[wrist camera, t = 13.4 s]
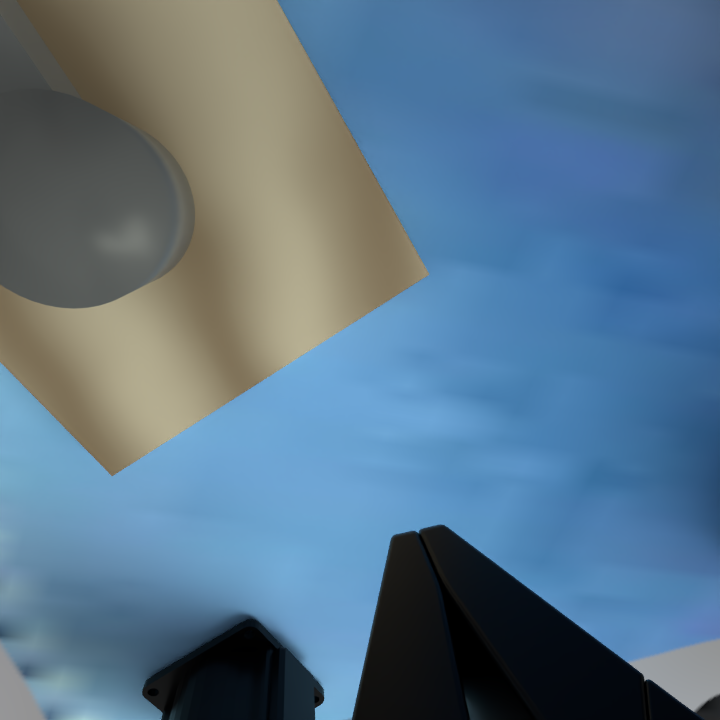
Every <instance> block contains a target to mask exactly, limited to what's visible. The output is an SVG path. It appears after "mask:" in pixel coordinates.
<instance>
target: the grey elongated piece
mask: <svg viewBox="0 0 720 720" xmlns="http://www.w3.org/2000/svg"><path fill="white" fill-rule="evenodd" d="M194 224H195V206H194V199H193V195H192V191H191V188H190V185H189V183H188V180H187V178H186V176H185V174H184V172H183V170H182V168H181V166H180V165H179V164H178V162H177V161H176V159H175V158H174V157H173V155H172V154H171V153H170V152H169V151H168V150H167V149H166V148H165V147H164V146H163V145H162V144H161V143H160V142H159V141H158V140H157V139H155V138H154V137H152V136H151V135H150V134H148V133H147V132H145V131H143V130H141V129H139V128H138V127H136V126H134V125H132V124H130V123H128V122H126V121H124V120H122V119H120V118H118V117H116V116H114V115H112V114H110V113H108V112H106V111H104V110H102V109H100V108H99V107H97V106H95V105H93V104H91V103H89V102H87V101H85V100H82V98H81V97H80V95H79V94H78V92H77V91H76V89H75V88H74V86H73V85H72V83H71V82H70V80H69V79H68V77H67V76H66V74H65V73H64V71H63V70H62V68H61V67H60V65H59V64H58V62H57V61H56V59H55V58H54V56H53V55H52V53H51V52H50V50H49V49H48V47H47V46H46V44H45V43H44V41H43V40H42V38H41V37H40V35H39V34H38V32H37V31H36V29H35V28H34V26H33V25H32V23H31V22H30V20H29V19H28V17H27V16H26V14H25V13H24V11H23V10H22V8H21V7H20V5H19V4H18V2H17V1H16V0H0V285H2V286H3V287H5V288H6V289H8V290H10V291H12V292H13V293H15V294H17V295H19V296H21V297H24V298H26V299H29V300H31V301H34V302H37V303H40V304H44V305H48V306H53V307H59V308H72V309H76V308H89V307H95V306H100V305H103V304H106V303H109V302H112V301H114V300H117V299H119V298H121V297H123V296H125V295H127V294H129V293H131V292H133V291H135V290H137V289H139V288H141V287H143V286H145V285H147V284H149V283H151V282H153V281H155V280H157V279H159V278H161V277H162V276H164V275H165V274H167V273H168V272H169V271H170V270H172V269H173V268H174V267H175V266H176V265H177V264H178V262H179V261H180V260H181V259H182V257H183V256H184V254H185V252H186V251H187V249H188V246H189V244H190V242H191V239H192V235H193V231H194Z"/></svg>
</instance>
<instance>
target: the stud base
mask: <svg viewBox="0 0 720 720" xmlns="http://www.w3.org/2000/svg"><path fill="white" fill-rule="evenodd" d="M16 1H17V2H18V4H19V5H20V7H21V8H22V10H23V11H24V13H25V14H26V16H27V17H28V19H29V20H30V22H31V23H32V25H33V26H34V28H35V29H36V31H37V32H38V34H39V35H40V37H41V38H42V40H43V41H44V43H45V44H46V46H47V47H48V49H49V50H50V52H51V53H52V55H53V56H54V58H55V59H56V61H57V62H58V64H59V65H60V67H61V68H62V70H63V71H64V73H65V74H66V76H67V77H68V79H69V80H70V82H71V83H72V85H73V86H74V88H75V89H76V91H77V92H78V94H79V95H80V97H81V98H82V100H85V101H87V102H89V103H91V104H93V105H95V106H97V107H99V108H100V109H102V110H104V111H106V112H108V113H110V114H112V115H114V116H116V117H118V118H120V119H122V120H124V121H126V122H128V123H130V124H132V125H134V126H136V127H138V128H139V129H141V130H143V131H145V132H147V133H148V134H150V135H151V136H152V137H154V138H155V139H157V140H158V141H159V142H160V143H161V144H162V145H163V146H164V147H165V148H166V149H167V150H168V151H169V152H170V153H171V154H172V155H173V157H174V158H175V159H176V161H177V162H178V164H179V165H180V166H181V168H182V170H183V172H184V174H185V176H186V178H187V180H188V183H189V185H190V188H191V191H192V195H193V199H194V206H195V224H194V231H193V235H192V239H191V242H190V244H189V246H188V249H187V251H186V252H185V254H184V256H183V257H182V259H181V260H180V261H179V262H178V264H177V265H176V266H175V267H174V268H173V269H172V270H170V271H169V272H168V273H167V274H165V275H164V276H162V277H161V278H159V279H157V280H155V281H153V282H151V283H149V284H147V285H145V286H143V287H141V288H139V289H137V290H135V291H133V292H131V293H129V294H127V295H125V296H123V297H121V298H119V299H117V300H114V301H112V302H109V303H106V304H103V305H100V306H95V307H89V308H76V309H72V308H59V307H53V306H48V305H44V304H40V303H37V302H34V301H31V300H29V299H26V298H24V297H21V296H19V295H17V294H15V293H13V292H12V291H10V290H8V289H6V288H5V287H3V286H2V285H0V362H1V363H2V364H3V365H4V366H5V367H6V368H7V369H8V370H9V371H10V372H11V373H12V374H13V375H14V376H15V377H16V378H17V379H18V380H19V381H20V383H21V384H22V385H23V386H24V387H25V388H26V389H27V390H28V391H29V392H30V393H31V394H32V395H33V396H34V397H35V398H36V399H37V400H38V401H39V402H40V403H41V404H42V405H43V406H44V407H45V408H46V409H47V410H48V411H49V412H50V413H51V414H52V415H53V416H54V417H55V418H56V419H57V420H58V421H59V422H60V423H61V424H62V425H63V426H64V428H65V429H66V430H67V431H68V432H69V433H70V434H71V435H72V436H73V437H74V438H75V439H76V440H77V441H78V442H79V443H80V444H81V445H82V446H83V447H84V448H85V449H86V450H87V451H88V452H89V453H90V454H91V455H92V456H93V457H94V458H95V459H96V460H97V461H98V462H99V463H100V464H101V465H102V466H103V467H104V468H105V469H106V470H107V471H108V472H109V474H110V475H111V476H113V475H115V474H116V473H118V472H119V471H121V470H123V469H124V468H126V467H127V466H129V465H130V464H132V463H134V462H135V461H137V460H138V459H140V458H141V457H143V456H145V455H146V454H148V453H149V452H151V451H152V450H154V449H156V448H157V447H159V446H160V445H162V444H163V443H165V442H167V441H168V440H170V439H171V438H173V437H174V436H176V435H178V434H179V433H181V432H182V431H184V430H185V429H187V428H189V427H190V426H192V425H193V424H195V423H196V422H198V421H200V420H201V419H203V418H204V417H206V416H207V415H209V414H211V413H212V412H214V411H215V410H217V409H218V408H220V407H222V406H223V405H225V404H226V403H228V402H229V401H231V400H233V399H234V398H236V397H237V396H239V395H240V394H242V393H244V392H245V391H247V390H248V389H250V388H251V387H253V386H255V385H256V384H258V383H259V382H261V381H262V380H264V379H266V378H267V377H269V376H270V375H272V374H273V373H275V372H277V371H278V370H280V369H281V368H283V367H284V366H286V365H288V364H289V363H291V362H292V361H294V360H295V359H297V358H299V357H300V356H302V355H303V354H305V353H306V352H308V351H310V350H311V349H313V348H314V347H316V346H318V345H319V344H321V343H322V342H324V341H325V340H327V339H329V338H330V337H332V336H333V335H335V334H336V333H338V332H340V331H341V330H343V329H344V328H346V327H347V326H349V325H351V324H352V323H354V322H355V321H357V320H358V319H360V318H362V317H363V316H365V315H366V314H368V313H369V312H371V311H373V310H374V309H376V308H377V307H379V306H380V305H382V304H384V303H385V302H387V301H388V300H390V299H391V298H393V297H395V296H396V295H398V294H399V293H401V292H402V291H404V290H406V289H407V288H409V287H410V286H412V285H413V284H415V283H417V282H418V281H420V280H421V279H423V278H424V277H426V276H428V275H429V273H428V271H427V269H426V268H425V266H424V264H423V262H422V260H421V259H420V257H419V255H418V253H417V251H416V250H415V248H414V246H413V244H412V242H411V241H410V239H409V237H408V235H407V233H406V232H405V230H404V228H403V226H402V224H401V223H400V221H399V219H398V217H397V215H396V214H395V212H394V210H393V208H392V206H391V205H390V203H389V201H388V199H387V197H386V196H385V194H384V192H383V190H382V188H381V187H380V185H379V183H378V181H377V179H376V178H375V176H374V174H373V172H372V170H371V169H370V167H369V165H368V163H367V161H366V160H365V158H364V156H363V154H362V152H361V151H360V149H359V147H358V145H357V143H356V142H355V140H354V138H353V136H352V134H351V133H350V131H349V129H348V127H347V125H346V124H345V122H344V120H343V118H342V116H341V115H340V113H339V111H338V109H337V107H336V106H335V104H334V102H333V100H332V98H331V97H330V95H329V93H328V91H327V89H326V88H325V86H324V84H323V82H322V80H321V79H320V77H319V75H318V73H317V71H316V70H315V68H314V66H313V64H312V62H311V61H310V59H309V57H308V55H307V53H306V52H305V50H304V48H303V46H302V44H301V43H300V41H299V39H298V37H297V35H296V34H295V32H294V30H293V28H292V26H291V25H290V23H289V21H288V19H287V17H286V16H285V14H284V12H283V10H282V8H281V7H280V5H279V3H278V1H277V0H16Z"/></svg>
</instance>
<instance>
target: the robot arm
mask: <svg viewBox="0 0 720 720" xmlns="http://www.w3.org/2000/svg"><path fill="white" fill-rule="evenodd" d="M248 631H252V632H248ZM142 694H143V696H144V697H145V698H146V699H147V700H148V701H150V702H151V703H152V704H153V705H154V706H156V707H157V708H158V709H159V710H160V711H162V712H163V715H162V718H161V720H315V708H316V707H318V706H319V705H321V704H322V703H323V701H324V689H323V688H322V687H321V686H320V684H319V683H318V682H317V681H316V680H315V679H314V677H313V675H312V674H311V673H310V672H309V671H308V670H307V669H306V668H305V667H304V666H303V665H302V664H301V663H300V662H299V661H298V660H297V659H296V658H295V657H294V656H293V655H292V654H291V653H290V652H289V651H288V650H287V649H286V648H284V647H283V646H282V645H281V644H280V643H279V642H278V641H277V640H276V639H275V638H274V637H273V636H272V635H271V634H270V633H269V632H268V631H267V630H266V629H265V628H264V627H263V626H262V625H261V624H260V623H259V622H258V621H256V620H253V619H250V620H246V621H243V622H242V623H240V624H238V625H237V626H235V627H233V628H232V629H230V630H228V631H227V632H225V633H223V634H222V635H220V636H218V637H217V638H215V639H213V640H212V641H210V642H208V643H207V644H205V645H203V646H202V647H200V648H198V649H197V650H195V651H193V652H192V653H190V654H189V655H187V656H185V657H184V658H182V659H180V660H179V661H177V662H175V663H174V664H172V665H170V666H169V667H167V668H165V669H164V670H162V671H160V672H159V673H157V674H155V675H154V676H152V677H150V678H149V679H147V680H146V682H145V685H144V688H143V691H142ZM352 720H704V719H703V718H701V717H700V716H699V715H697V714H696V713H695V712H693V711H692V710H690V709H689V708H688V707H686V706H685V705H683V704H682V703H681V702H679V701H678V700H677V699H675V698H674V697H673V696H671V695H670V694H669V693H667V692H666V691H665V690H663V689H662V688H661V687H659V686H658V685H657V684H655V683H654V682H653V681H651V680H646V681H644V676H643V674H642V673H640V672H639V671H638V670H636V669H635V668H634V667H632V666H631V665H630V664H629V663H627V662H626V661H625V660H623V659H622V658H621V657H619V656H618V655H617V654H615V653H614V652H613V651H611V650H610V649H609V648H607V647H606V646H605V645H603V644H602V643H601V642H599V641H598V640H597V639H595V638H594V637H593V636H591V635H590V634H589V633H587V632H586V631H585V630H583V629H582V628H581V627H579V626H578V625H577V624H575V623H574V622H573V621H571V620H570V619H569V618H567V617H566V616H565V615H563V614H562V613H561V612H559V611H558V610H557V609H555V608H554V607H553V606H551V605H550V604H549V603H547V602H546V601H545V600H543V599H542V598H541V597H539V596H538V595H537V594H535V593H534V592H533V591H531V590H530V589H529V588H527V587H526V586H525V585H523V584H522V583H521V582H519V581H518V580H517V579H516V578H514V577H513V576H512V575H510V574H509V573H508V572H506V571H505V570H504V569H502V568H501V567H500V566H498V565H497V564H496V563H494V562H493V561H492V560H490V559H489V558H488V557H486V556H485V555H484V554H482V553H481V552H480V551H478V550H477V549H476V548H474V547H473V546H472V545H470V544H469V543H468V542H466V541H465V540H464V539H462V538H461V537H460V536H458V535H457V534H456V533H454V532H453V531H452V530H450V529H449V528H448V527H446V526H445V525H436V526H431V527H427V528H423V529H421V530H420V531H419V533H417V532H416V531H409V532H405V533H401V534H396V535H394V536H393V537H392V538H391V541H390V546H389V550H388V555H387V560H386V564H385V569H384V574H383V578H382V583H381V587H380V592H379V597H378V601H377V606H376V610H375V615H374V620H373V624H372V629H371V634H370V638H369V643H368V647H367V652H366V657H365V661H364V666H363V671H362V675H361V680H360V684H359V689H358V694H357V698H356V703H355V707H354V712H353V717H352Z"/></svg>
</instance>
